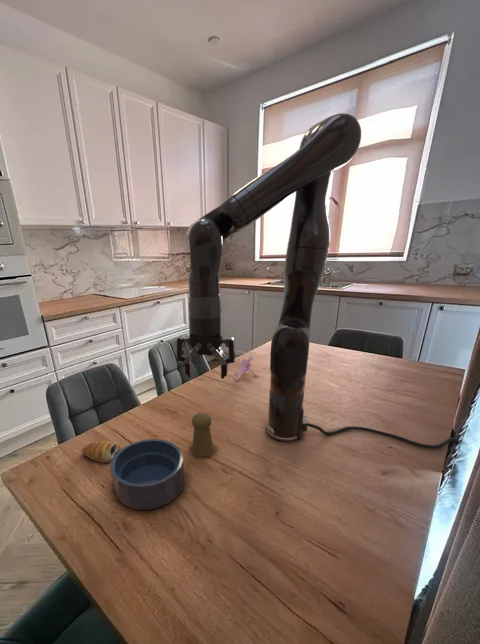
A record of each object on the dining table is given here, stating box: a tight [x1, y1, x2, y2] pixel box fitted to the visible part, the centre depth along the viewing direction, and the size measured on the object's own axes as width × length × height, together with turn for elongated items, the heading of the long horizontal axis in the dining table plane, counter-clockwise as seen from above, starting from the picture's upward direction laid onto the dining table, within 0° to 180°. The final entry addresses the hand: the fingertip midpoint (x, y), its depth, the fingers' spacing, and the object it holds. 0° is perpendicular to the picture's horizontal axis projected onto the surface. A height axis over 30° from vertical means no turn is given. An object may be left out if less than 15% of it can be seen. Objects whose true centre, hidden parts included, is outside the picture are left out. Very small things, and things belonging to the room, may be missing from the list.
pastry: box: [81, 440, 119, 463], centre depth 86 cm, size 9×7×4 cm
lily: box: [236, 353, 257, 381], centre depth 128 cm, size 12×12×10 cm
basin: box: [109, 438, 186, 511], centre depth 74 cm, size 17×17×7 cm
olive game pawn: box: [191, 412, 215, 458], centre depth 84 cm, size 6×6×11 cm
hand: (206, 376), depth 79 cm, fingers open, 8 cm apart
